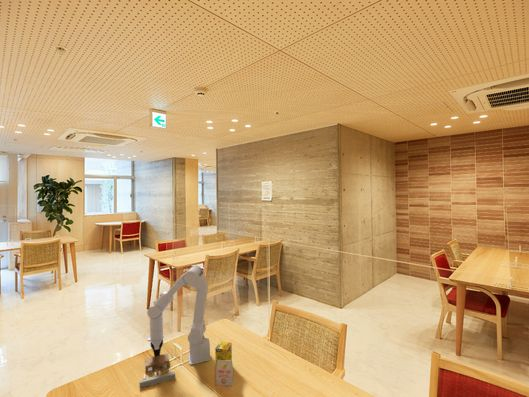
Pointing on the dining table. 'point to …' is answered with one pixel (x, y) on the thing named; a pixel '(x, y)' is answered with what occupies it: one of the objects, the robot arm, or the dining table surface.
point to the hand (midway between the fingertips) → (157, 355)
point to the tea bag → (224, 373)
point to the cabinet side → (157, 379)
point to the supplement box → (223, 351)
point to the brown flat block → (156, 363)
